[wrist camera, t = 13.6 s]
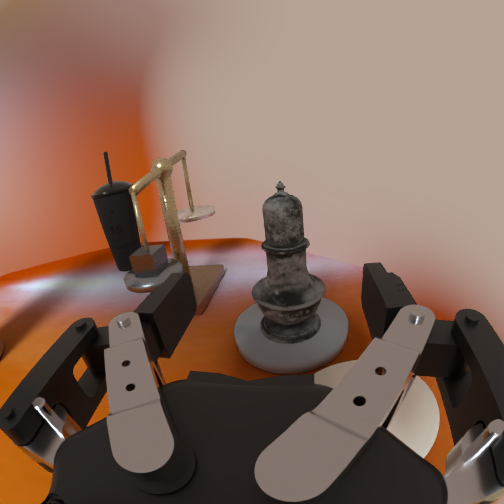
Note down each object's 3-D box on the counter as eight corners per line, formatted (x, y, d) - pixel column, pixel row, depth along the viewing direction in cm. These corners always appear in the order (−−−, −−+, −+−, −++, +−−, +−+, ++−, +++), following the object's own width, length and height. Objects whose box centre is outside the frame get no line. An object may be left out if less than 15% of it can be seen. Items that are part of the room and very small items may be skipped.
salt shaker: (297, 298, 26) (288, 174, 22) (338, 325, 22) (339, 179, 17) (244, 320, 24) (224, 185, 20) (281, 357, 19) (266, 192, 15)
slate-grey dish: (224, 372, 20) (221, 362, 19) (246, 304, 29) (245, 294, 28) (354, 370, 18) (356, 360, 17) (340, 300, 27) (341, 290, 26)
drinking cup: (110, 264, 46) (85, 159, 38) (147, 253, 49) (126, 148, 42) (111, 279, 39) (81, 156, 32) (154, 265, 43) (128, 144, 35)
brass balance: (129, 335, 25) (78, 170, 19) (189, 261, 42) (168, 153, 36) (187, 341, 24) (141, 150, 18) (231, 259, 41) (214, 144, 35)
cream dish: (274, 496, 10) (272, 491, 9) (288, 374, 19) (288, 363, 18) (446, 472, 8) (455, 464, 7) (413, 363, 17) (417, 352, 16)
